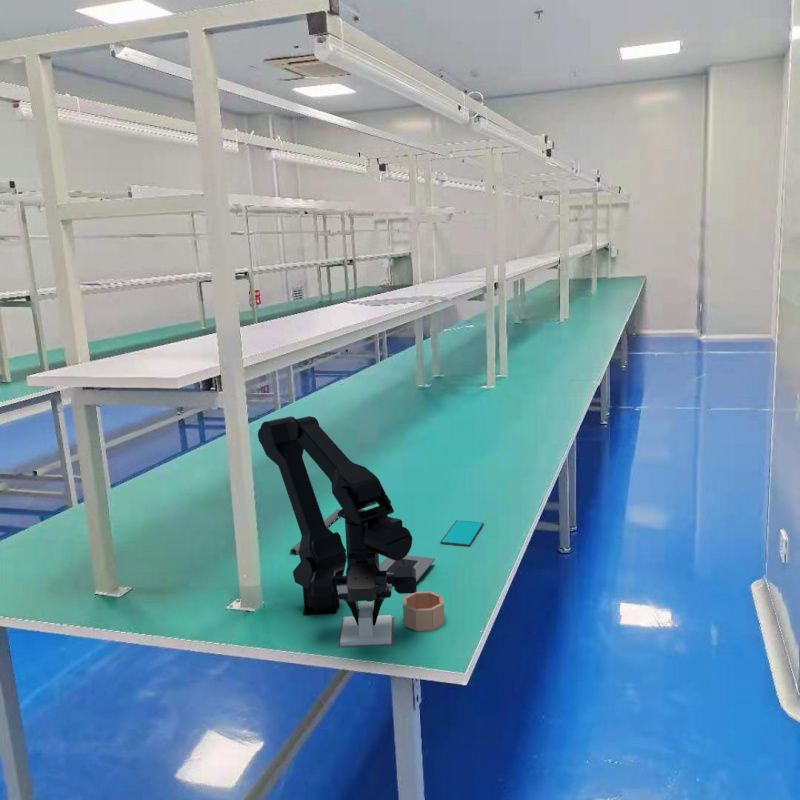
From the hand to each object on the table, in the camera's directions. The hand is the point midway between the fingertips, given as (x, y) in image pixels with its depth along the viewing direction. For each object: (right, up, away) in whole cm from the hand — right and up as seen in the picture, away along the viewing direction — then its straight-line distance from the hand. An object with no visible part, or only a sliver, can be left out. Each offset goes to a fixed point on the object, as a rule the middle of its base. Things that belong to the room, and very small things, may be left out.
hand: (366, 624), depth 132 cm
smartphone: (+22, +8, +46) cm, 51 cm away
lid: (0, -1, 0) cm, 1 cm away
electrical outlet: (+7, +3, +24) cm, 25 cm away
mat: (0, -2, 0) cm, 2 cm away
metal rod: (-14, +7, +50) cm, 52 cm away
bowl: (+11, -1, +4) cm, 11 cm away
